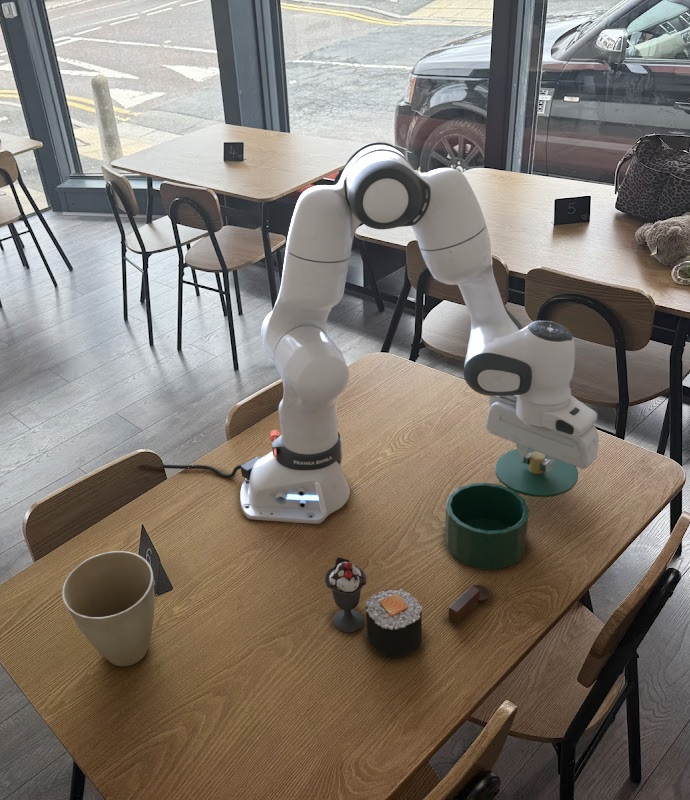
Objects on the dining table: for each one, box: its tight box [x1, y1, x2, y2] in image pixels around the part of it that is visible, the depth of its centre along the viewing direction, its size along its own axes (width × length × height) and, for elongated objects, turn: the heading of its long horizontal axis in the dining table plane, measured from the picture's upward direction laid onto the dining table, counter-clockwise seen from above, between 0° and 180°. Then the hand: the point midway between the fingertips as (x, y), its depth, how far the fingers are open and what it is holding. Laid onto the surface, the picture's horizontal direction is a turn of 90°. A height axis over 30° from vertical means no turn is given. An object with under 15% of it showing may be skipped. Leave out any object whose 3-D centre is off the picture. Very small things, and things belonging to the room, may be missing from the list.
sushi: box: [365, 588, 423, 660], centre depth 126 cm, size 8×8×8 cm
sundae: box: [324, 556, 367, 633], centre depth 129 cm, size 7×7×15 cm
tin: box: [444, 482, 530, 570], centre depth 141 cm, size 14×14×8 cm
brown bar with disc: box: [448, 584, 491, 625], centre depth 131 cm, size 9×3×3 cm, turn 131°
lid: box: [494, 448, 579, 498], centre depth 149 cm, size 15×15×5 cm
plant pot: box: [61, 550, 155, 667], centre depth 131 cm, size 15×15×16 cm
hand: (536, 466), depth 149 cm, fingers closed on lid, 2 cm apart
